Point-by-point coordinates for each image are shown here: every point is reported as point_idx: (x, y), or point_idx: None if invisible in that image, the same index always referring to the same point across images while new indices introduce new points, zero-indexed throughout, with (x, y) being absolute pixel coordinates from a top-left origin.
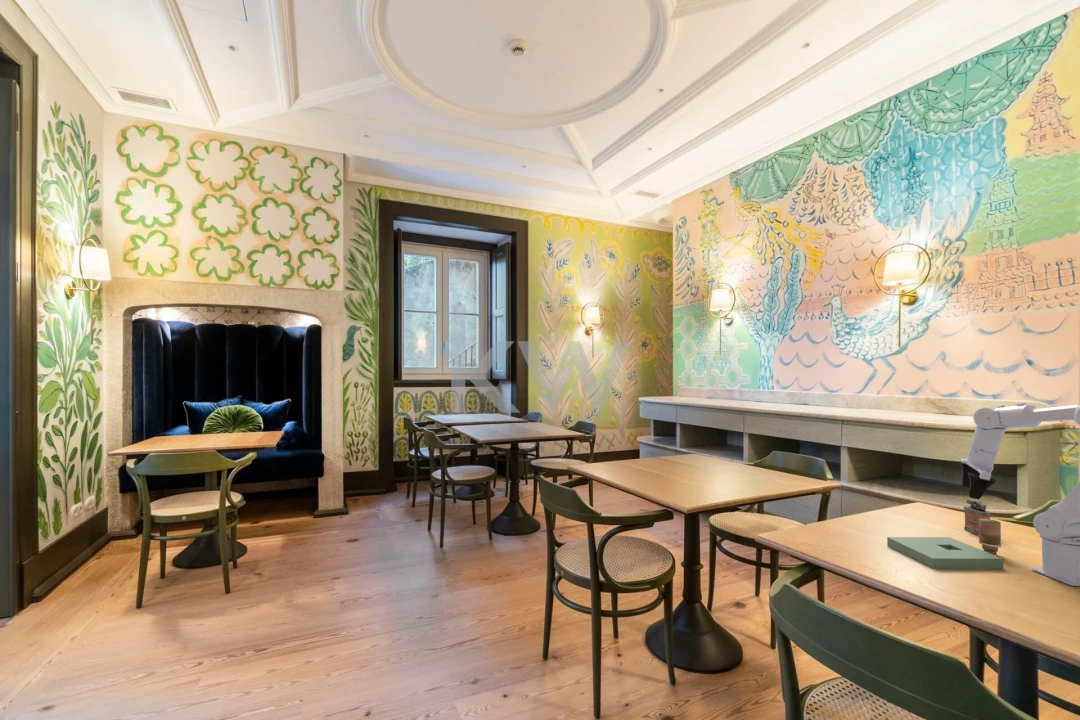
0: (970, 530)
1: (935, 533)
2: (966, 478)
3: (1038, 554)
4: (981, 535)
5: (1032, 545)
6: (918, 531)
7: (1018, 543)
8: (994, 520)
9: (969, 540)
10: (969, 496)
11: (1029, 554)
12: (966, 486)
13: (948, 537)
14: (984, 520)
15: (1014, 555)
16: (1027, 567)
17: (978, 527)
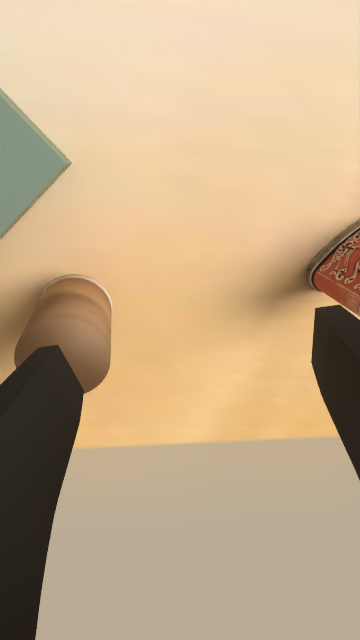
0: (352, 231)
1: (258, 98)
2: (358, 393)
3: (195, 391)
4: (44, 298)
5: (289, 377)
6: (247, 10)
7: (289, 350)
8: (97, 375)
9: (229, 228)
10: (43, 348)
11: (176, 376)
12: (315, 333)
13: (57, 158)
14: (53, 342)
15: (129, 348)
16: None
17: (340, 263)
